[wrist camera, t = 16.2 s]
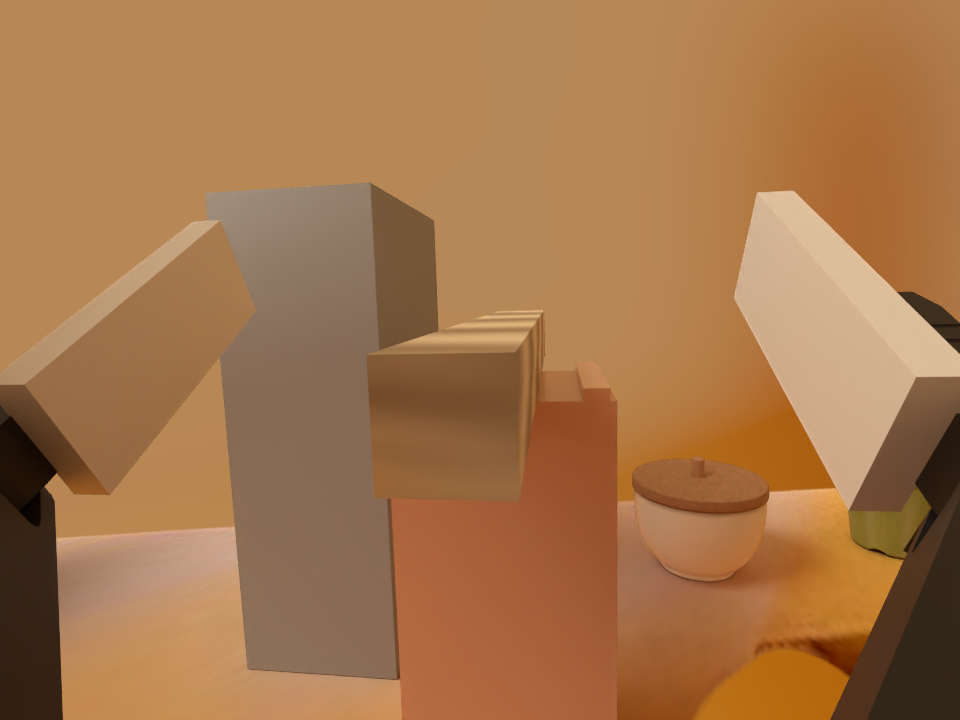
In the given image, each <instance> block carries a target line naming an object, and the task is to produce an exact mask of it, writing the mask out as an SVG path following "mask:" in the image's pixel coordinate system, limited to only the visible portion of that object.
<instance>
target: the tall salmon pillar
mask: <svg viewBox="0 0 960 720" xmlns="http://www.w3.org/2000/svg"><path fill="white" fill-rule="evenodd" d="M391 510H392V529H393V548H394V567H395V586H396V605H397V625H398V644H399V663H400V682H401V701H402V720H617V400H616V399H615V397H614V395H613V393H612V391H611V390H610V387H609V385H608V383H607V382H606V380H605V378H604V376H603V375H602V373H601V371H600V369H599V368H598V366H597V364H596V362H595V361H594V362H576V371H548V372H547V371H545V372H542V373H541V379H540V385H539V390H538V396H537V402H536V407H535V413H534V419H533V424H532V430H531V436H530V441H529V447H528V453H527V458H526V464H525V469H524V475H523V481H522V486H521V492H520V498H519V502H516V501H474V500H431V499H391Z"/></svg>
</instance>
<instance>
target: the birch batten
mask: <svg viewBox="0 0 960 720" xmlns="http://www.w3.org/2000/svg"><path fill="white" fill-rule="evenodd" d="M544 356H545V333H544V310H525V311H524V310H523V311H498V312H495V313H492V314H489V315H486V316H483V317H480V318H477V319H474V320H471V321H468V322H465V323H462V324H459V325H456V326H452V327H449V328H447V329H443V330H440V331H437V332H434V333H431V334H428V335H425V336H422V337H419V338H416V339H413V340H410V341H407V342H404V343H400V344H397V345H394V346H391V347H388V348H385V349H382V350H379V351H376V352H373V353H370V354H367V355H366V357H367V375H368V393H369V411H370V429H371V447H372V464H373V482H374V498H389V499H431V500H474V501H516V502H519V498H520V492H521V486H522V481H523V475H524V469H525V464H526V458H527V453H528V447H529V441H530V436H531V430H532V424H533V419H534V413H535V407H536V402H537V396H538V390H539V385H540V379H541V373H542V368H543V362H544Z"/></svg>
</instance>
